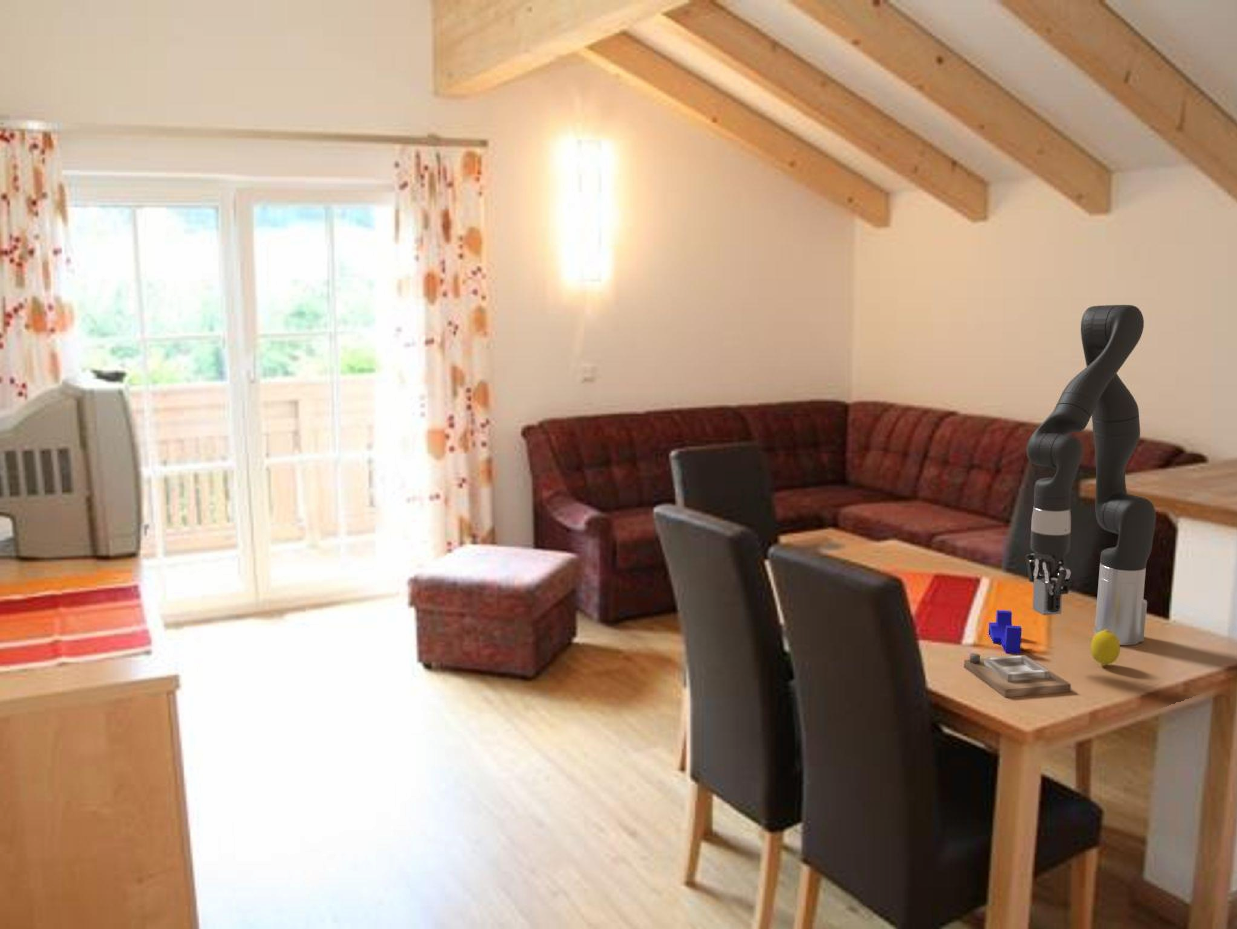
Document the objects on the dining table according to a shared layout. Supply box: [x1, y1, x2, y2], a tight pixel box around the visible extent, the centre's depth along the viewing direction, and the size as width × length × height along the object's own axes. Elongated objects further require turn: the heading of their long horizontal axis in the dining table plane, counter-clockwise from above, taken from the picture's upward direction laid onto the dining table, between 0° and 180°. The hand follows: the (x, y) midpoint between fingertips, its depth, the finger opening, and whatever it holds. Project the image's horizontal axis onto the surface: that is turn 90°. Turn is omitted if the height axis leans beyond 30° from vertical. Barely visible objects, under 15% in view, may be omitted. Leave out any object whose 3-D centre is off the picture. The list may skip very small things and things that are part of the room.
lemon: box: [1090, 629, 1121, 667], centre depth 214 cm, size 6×6×8 cm
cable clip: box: [987, 609, 1023, 655], centre depth 228 cm, size 12×4×6 cm, turn 170°
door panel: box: [963, 652, 1072, 698], centre depth 208 cm, size 14×16×3 cm
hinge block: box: [1032, 577, 1063, 616], centre depth 214 cm, size 4×4×7 cm
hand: (1047, 607), depth 214 cm, fingers closed on hinge block, 4 cm apart
